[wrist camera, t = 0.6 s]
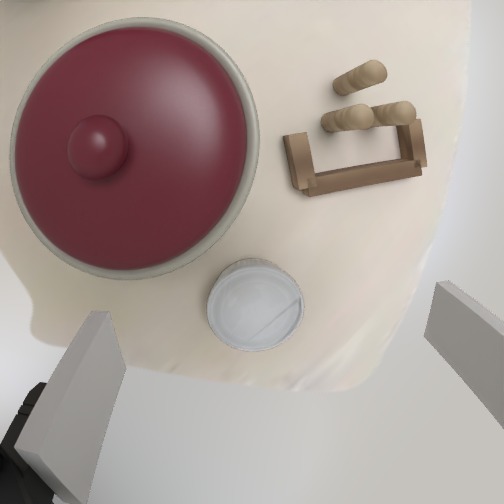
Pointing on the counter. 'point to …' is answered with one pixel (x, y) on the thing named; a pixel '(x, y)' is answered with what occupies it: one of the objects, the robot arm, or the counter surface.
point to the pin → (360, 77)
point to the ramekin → (254, 305)
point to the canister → (134, 148)
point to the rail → (355, 175)
